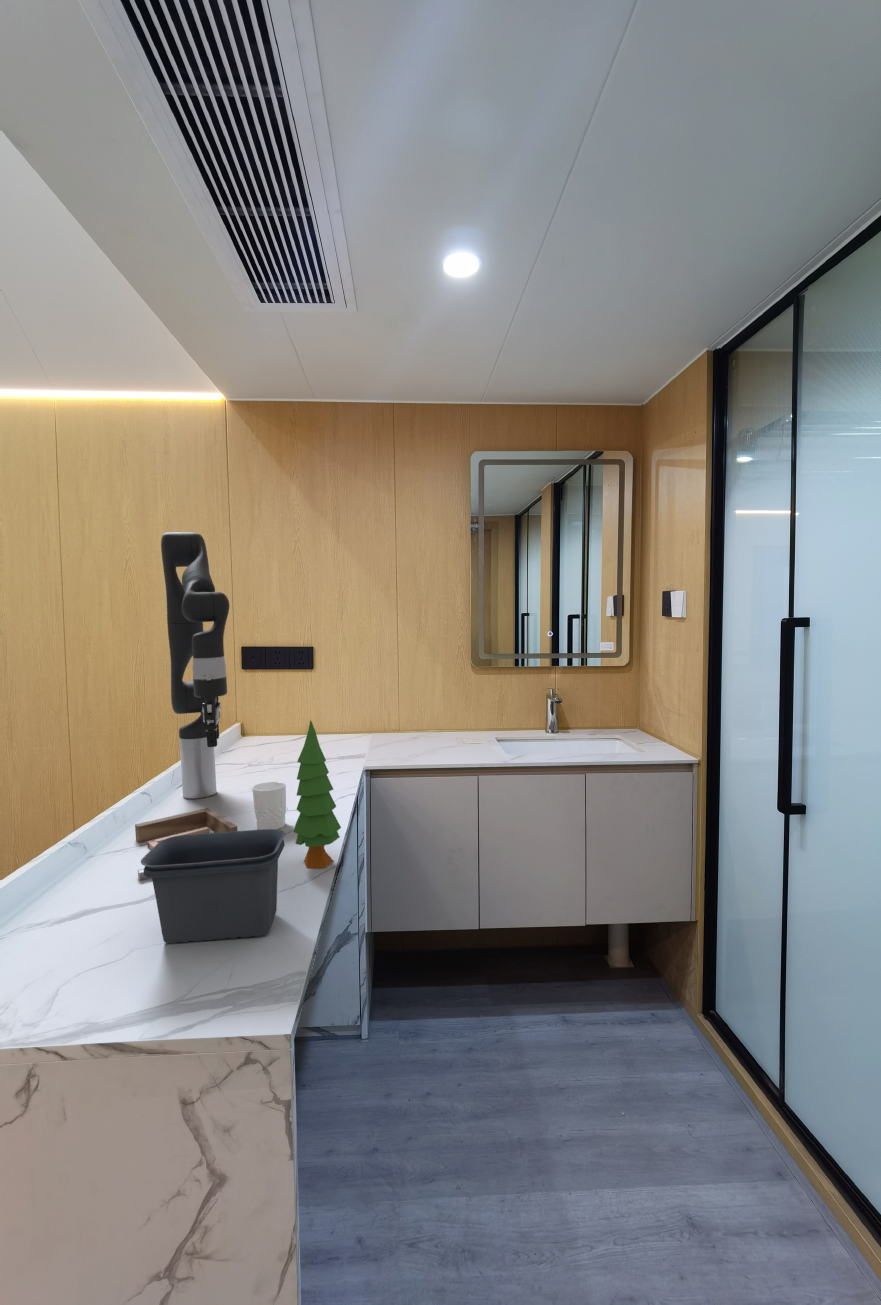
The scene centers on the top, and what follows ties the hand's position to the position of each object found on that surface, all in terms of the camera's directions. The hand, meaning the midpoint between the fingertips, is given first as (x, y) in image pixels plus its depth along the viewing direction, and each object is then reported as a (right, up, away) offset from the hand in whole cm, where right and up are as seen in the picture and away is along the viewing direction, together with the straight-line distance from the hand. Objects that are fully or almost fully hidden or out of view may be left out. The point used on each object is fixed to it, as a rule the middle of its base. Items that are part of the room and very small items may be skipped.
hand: (213, 742), depth 153 cm
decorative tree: (+30, -22, -22) cm, 43 cm away
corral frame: (-1, -22, -10) cm, 24 cm away
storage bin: (+18, -24, -46) cm, 55 cm away
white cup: (+13, -21, +3) cm, 25 cm away
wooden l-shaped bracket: (-4, -22, -6) cm, 23 cm away
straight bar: (+1, -23, -22) cm, 32 cm away
